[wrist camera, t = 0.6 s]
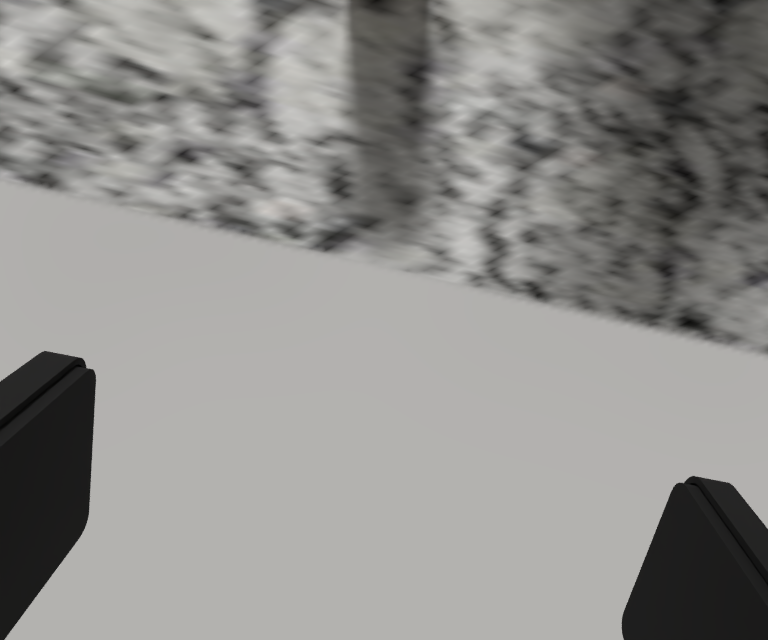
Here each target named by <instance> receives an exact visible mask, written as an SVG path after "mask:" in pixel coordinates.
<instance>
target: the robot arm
mask: <svg viewBox="0 0 768 640" xmlns="http://www.w3.org/2000/svg"><path fill="white" fill-rule="evenodd" d="M95 386H96V375H95V372H94V370H93V369H87V368H86V364H85V361H84V360H83V359H82V358H78V357H73V356H68V355H63V354H57V353H53V352H47V351H44V352H41V353H40V354H38V355H37V356H35V357H34V358H33V359H31V360H30V361H29V362H27V363H26V364H24V365H23V366H21V367H20V368H19V369H17V370H16V371H15V372H13V373H12V374H10V375H9V376H8V377H6V378H5V379H3V380H2V381H1V382H0V640H4V639H5V638H6V637H7V635H8V634H9V632H10V631H11V630H12V628H13V627H14V626H15V624H16V623H17V622H18V620H19V619H20V618H21V616H22V615H23V614H24V612H25V611H26V609H27V608H28V607H29V605H30V604H31V603H32V601H33V600H34V598H35V597H36V596H37V595H38V593H39V592H40V591H41V589H42V588H43V586H44V585H45V584H46V582H47V581H48V580H49V578H50V577H51V576H52V574H53V573H54V572H55V570H56V569H57V568H58V566H59V565H60V564H61V562H62V561H63V559H64V558H65V557H66V555H67V554H68V553H69V551H70V550H71V549H72V547H73V546H74V545H75V543H76V542H77V541H78V539H79V538H80V536H81V535H82V532H83V531H84V529H85V526H86V523H87V520H88V515H89V502H90V501H89V500H90V482H91V461H92V442H93V424H94V404H95ZM622 634H623V638H624V640H768V529H767V528H766V527H765V525H764V524H763V523H762V521H761V520H760V519H759V518H758V516H757V515H756V514H755V512H754V511H753V510H752V509H751V507H750V506H749V505H748V504H747V503H746V501H745V500H744V499H743V497H742V496H741V495H740V494H739V493H738V491H737V490H736V489H735V488H734V486H732V485H731V484H730V483H726V482H721V481H716V480H711V479H705V478H701V477H695V476H692V477H689V478H688V479H687V480H686V481H685V483H678V484H676V485H675V487H674V488H673V490H672V492H671V494H670V497H669V499H668V502H667V504H666V507H665V509H664V512H663V514H662V517H661V519H660V522H659V524H658V527H657V529H656V532H655V534H654V537H653V540H652V542H651V545H650V547H649V550H648V552H647V555H646V557H645V560H644V562H643V565H642V567H641V570H640V572H639V575H638V577H637V580H636V582H635V585H634V587H633V590H632V592H631V595H630V598H629V600H628V603H627V605H626V608H625V610H624V613H623V617H622Z"/></svg>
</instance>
